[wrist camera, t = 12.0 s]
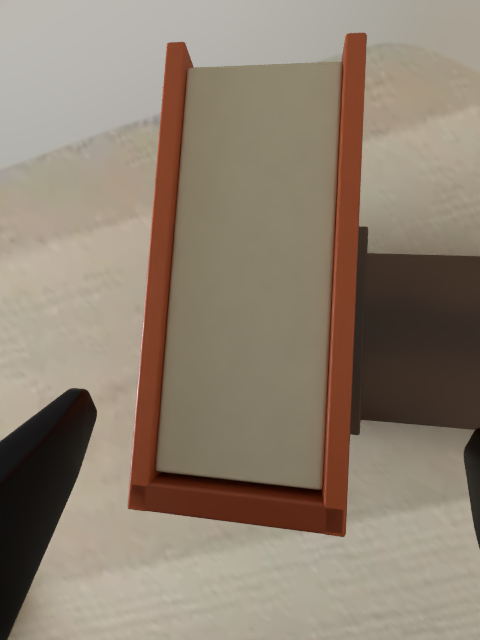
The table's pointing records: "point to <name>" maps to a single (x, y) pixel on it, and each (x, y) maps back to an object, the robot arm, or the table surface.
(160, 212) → the book
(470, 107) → the table surface
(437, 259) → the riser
